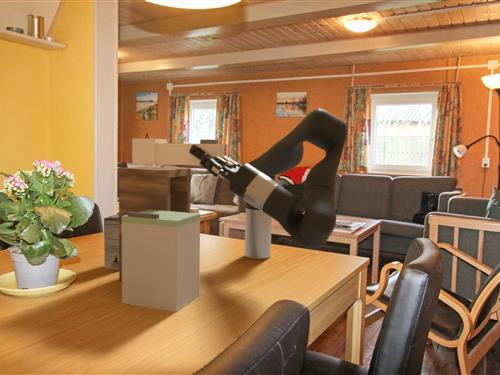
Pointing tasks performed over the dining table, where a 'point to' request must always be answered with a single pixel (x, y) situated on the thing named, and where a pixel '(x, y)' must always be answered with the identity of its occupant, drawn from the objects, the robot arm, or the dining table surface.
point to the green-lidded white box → (160, 259)
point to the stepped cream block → (171, 151)
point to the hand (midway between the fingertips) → (196, 148)
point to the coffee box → (111, 242)
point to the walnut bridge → (152, 192)
